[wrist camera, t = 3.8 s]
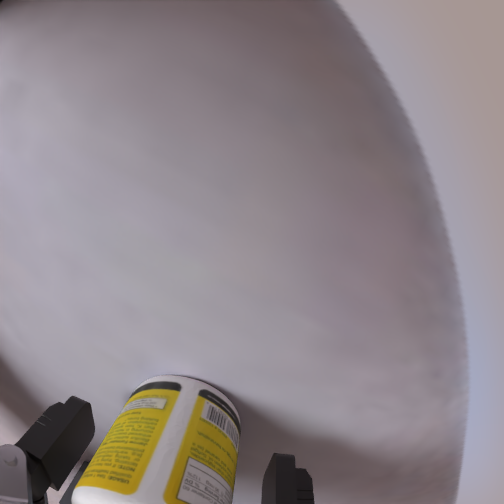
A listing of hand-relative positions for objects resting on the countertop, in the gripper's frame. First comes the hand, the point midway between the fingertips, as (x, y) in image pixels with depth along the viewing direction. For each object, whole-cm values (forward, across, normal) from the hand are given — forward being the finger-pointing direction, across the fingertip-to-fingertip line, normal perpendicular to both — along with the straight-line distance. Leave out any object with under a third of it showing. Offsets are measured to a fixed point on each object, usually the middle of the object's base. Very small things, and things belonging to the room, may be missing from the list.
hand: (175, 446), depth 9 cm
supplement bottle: (+2, 0, 0) cm, 2 cm away
